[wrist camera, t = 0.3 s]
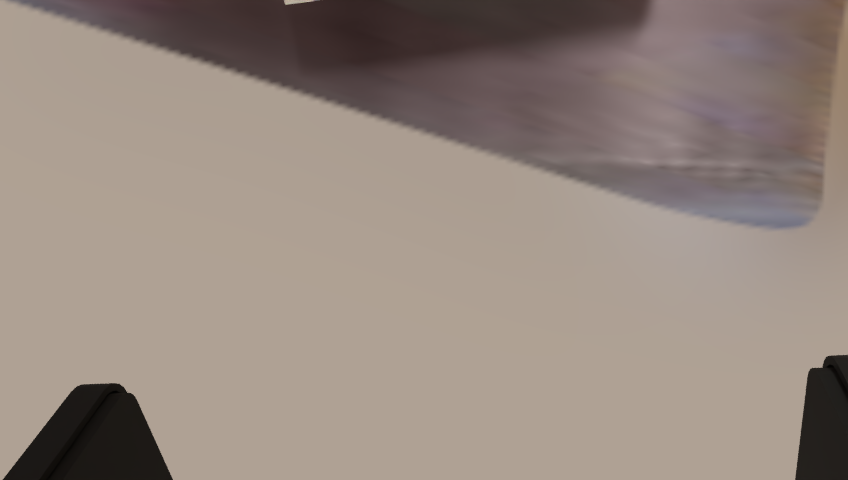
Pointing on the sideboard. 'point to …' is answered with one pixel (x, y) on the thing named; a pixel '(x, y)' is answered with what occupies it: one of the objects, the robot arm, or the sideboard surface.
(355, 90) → the sideboard surface
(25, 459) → the robot arm
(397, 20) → the sideboard surface
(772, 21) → the sideboard surface
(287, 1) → the big crate
